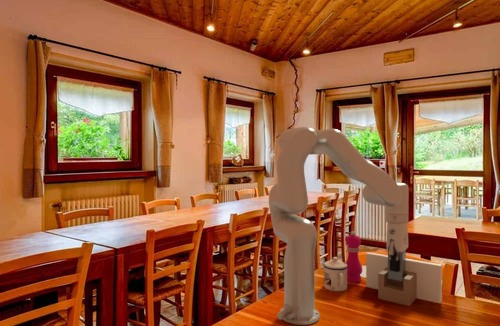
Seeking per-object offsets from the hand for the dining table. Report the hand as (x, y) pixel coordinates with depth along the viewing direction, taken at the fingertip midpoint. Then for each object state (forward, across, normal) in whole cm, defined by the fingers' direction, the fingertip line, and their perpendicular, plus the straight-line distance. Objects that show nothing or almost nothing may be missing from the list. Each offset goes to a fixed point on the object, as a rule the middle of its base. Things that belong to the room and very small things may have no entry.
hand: (396, 269), depth 129 cm
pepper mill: (+11, +9, +20) cm, 24 cm away
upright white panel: (+11, +2, 0) cm, 11 cm away
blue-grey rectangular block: (+3, 0, 0) cm, 3 cm away
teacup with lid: (+11, -4, +21) cm, 24 cm away
